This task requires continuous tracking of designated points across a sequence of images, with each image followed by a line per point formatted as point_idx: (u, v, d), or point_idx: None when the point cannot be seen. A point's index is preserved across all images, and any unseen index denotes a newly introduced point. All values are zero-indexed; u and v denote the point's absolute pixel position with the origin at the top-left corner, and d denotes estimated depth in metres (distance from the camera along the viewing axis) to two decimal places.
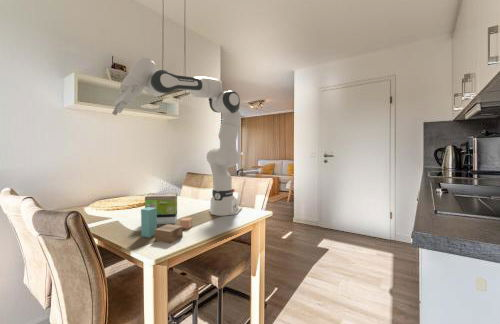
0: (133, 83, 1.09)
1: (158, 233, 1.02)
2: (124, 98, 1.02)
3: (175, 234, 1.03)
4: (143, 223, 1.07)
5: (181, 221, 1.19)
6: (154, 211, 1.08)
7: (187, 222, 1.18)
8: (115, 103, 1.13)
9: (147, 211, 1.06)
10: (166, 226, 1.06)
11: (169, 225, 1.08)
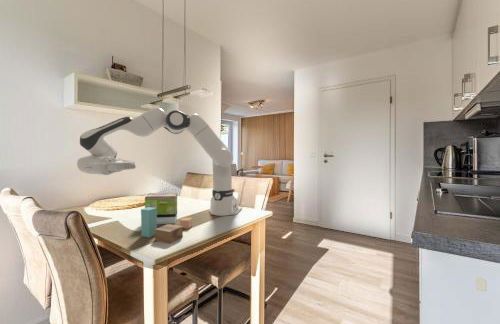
0: None
1: (158, 233, 1.02)
2: (98, 170, 1.05)
3: (175, 234, 1.03)
4: (143, 223, 1.07)
5: (181, 221, 1.19)
6: (154, 211, 1.08)
7: (187, 222, 1.18)
8: (128, 169, 1.19)
9: (147, 211, 1.06)
10: (166, 226, 1.06)
11: (169, 225, 1.08)
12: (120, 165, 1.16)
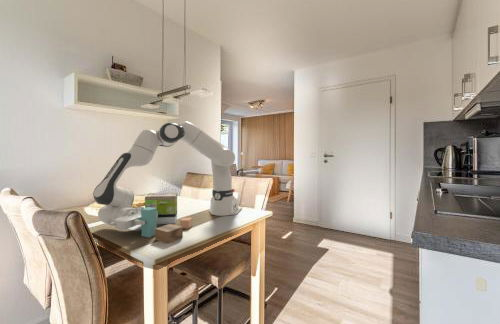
0: None
1: (157, 232, 1.02)
2: (123, 228, 1.01)
3: (174, 234, 1.02)
4: None
5: (181, 221, 1.19)
6: (154, 211, 1.08)
7: (187, 222, 1.18)
8: None
9: (147, 211, 1.06)
10: (167, 226, 1.06)
11: (170, 225, 1.08)
12: None
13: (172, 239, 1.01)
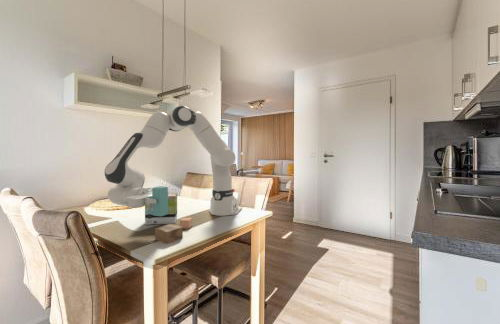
0: None
1: (157, 232, 1.03)
2: (134, 206, 0.99)
3: (174, 234, 1.02)
4: None
5: (181, 221, 1.19)
6: (165, 190, 1.06)
7: (187, 222, 1.18)
8: None
9: (158, 189, 1.03)
10: (167, 226, 1.07)
11: (171, 225, 1.08)
12: None
13: (171, 239, 1.01)
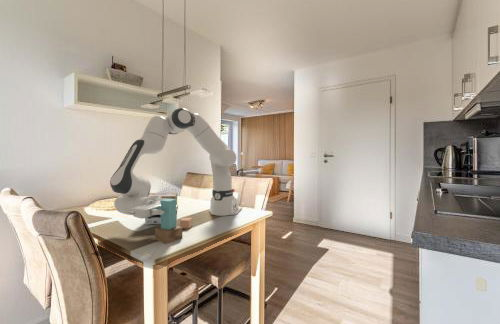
0: None
1: (157, 232, 1.03)
2: (143, 217, 0.97)
3: (173, 234, 1.02)
4: (162, 215, 1.03)
5: (181, 221, 1.19)
6: (174, 202, 1.04)
7: (187, 222, 1.18)
8: None
9: (167, 202, 1.02)
10: None
11: None
12: None
13: (171, 239, 1.01)
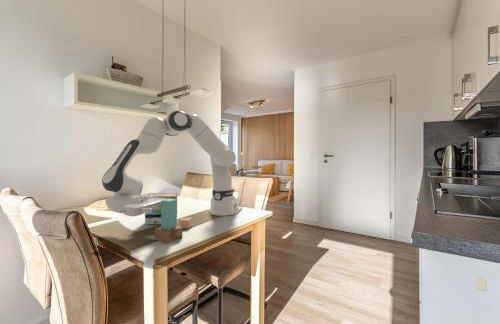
0: None
1: (157, 232, 1.03)
2: (133, 215, 0.99)
3: (173, 234, 1.02)
4: (163, 215, 1.03)
5: (181, 221, 1.19)
6: (174, 202, 1.04)
7: (187, 222, 1.18)
8: None
9: (168, 202, 1.02)
10: None
11: None
12: (153, 205, 1.09)
13: (171, 239, 1.01)
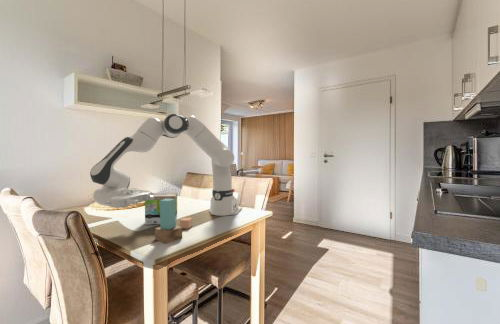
0: None
1: (157, 232, 1.03)
2: (117, 206, 1.03)
3: (173, 234, 1.02)
4: (162, 215, 1.03)
5: (181, 221, 1.19)
6: (173, 202, 1.05)
7: (187, 222, 1.18)
8: None
9: (167, 202, 1.02)
10: None
11: None
12: (138, 197, 1.13)
13: (170, 239, 1.01)
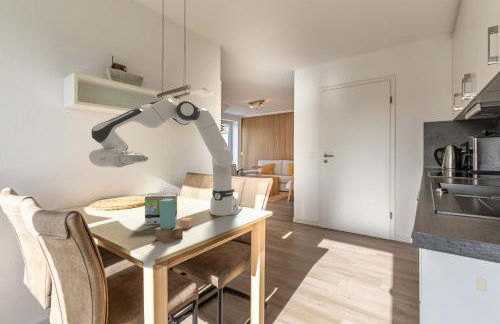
0: None
1: (157, 232, 1.03)
2: (111, 162, 1.05)
3: (173, 234, 1.02)
4: (162, 215, 1.03)
5: (181, 221, 1.19)
6: (173, 202, 1.05)
7: (187, 222, 1.18)
8: (140, 161, 1.19)
9: (166, 202, 1.02)
10: None
11: None
12: (133, 157, 1.15)
13: (171, 239, 1.01)
